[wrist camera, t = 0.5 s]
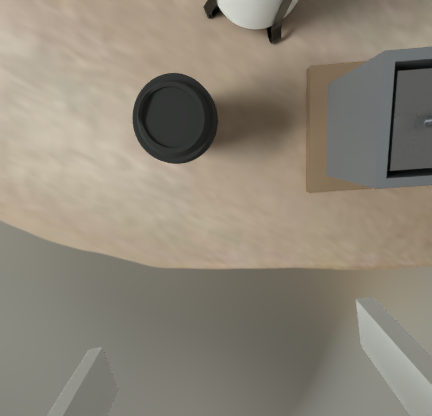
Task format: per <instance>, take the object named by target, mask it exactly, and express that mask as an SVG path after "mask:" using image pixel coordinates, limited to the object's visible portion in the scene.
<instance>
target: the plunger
mask: <svg viewBox="0 0 432 416" xmlns="http://www.w3.org/2000/svg"><path fill="white" fill-rule="evenodd" d="M422 168H432V68H429V69H416V70H404V71H397V72H394V84H393V97H392V111H391V124H390V137H389V150H388V163H387V170H388V171H394V170H408V169H422Z"/></svg>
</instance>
